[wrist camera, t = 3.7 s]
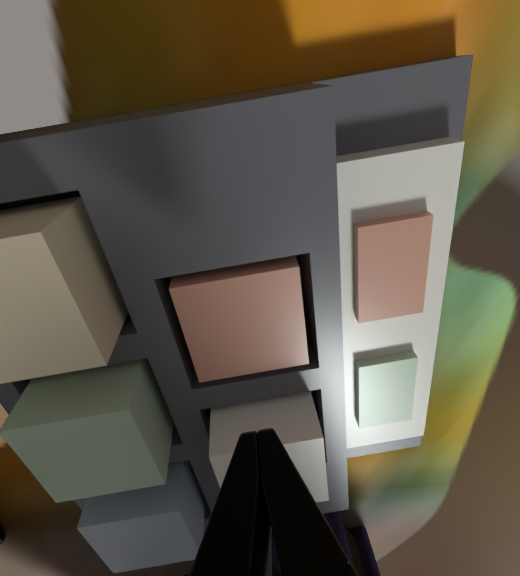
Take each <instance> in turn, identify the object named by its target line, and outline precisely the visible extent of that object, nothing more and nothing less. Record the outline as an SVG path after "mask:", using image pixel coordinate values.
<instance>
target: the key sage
mask: <svg viewBox="0 0 520 576" xmlns="http://www.w3.org/2000/svg"><path fill="white" fill-rule="evenodd" d="M173 428H174V421H173V419H172V416H171V414H170V411H169V409H168V407H167V404H166V402H165V399H164V397H163V394H162V392H161V390H160V387H159V385H158V382H157V380H156V377H155V375H154V373H153V370H152V368H151V365H150V363H149V360H148V358H145V359H139V360H134V361H128V362H122V363H116V364H110V365H107V366H101V367H96V368H90V369H84V370H78V371H72V372H67V373H61V374H55V375H49V376H43V377H38V378H32V379H31V381H30V382H29V384H28V385H27V387H26V389H25V390H24V392H23V394H22V395H21V397H20V398H19V400H18V402H17V403H16V405H15V406H14V408H13V410H12V411H11V413H10V414H9V416H8V418H7V419H6V421H5V423H4V424H3V426H2V428H1V429H0V435H1V436H2V437H3V438H4V439H5V441H6V442H7V443H8V444H9V446H10V447H11V448H12V449H13V451H14V452H15V453H16V454H17V455H18V457H19V458H20V459H21V460H22V462H23V463H24V464H25V465H26V467H27V468H28V469H29V470H30V471H31V473H32V474H33V475H34V476H35V478H36V479H37V480H38V481H39V483H40V484H41V485H42V486H43V487H44V489H45V490H46V491H47V492H48V494H49V495H50V496H51V497H52V499H53V500H54V501H55V502H56V503H59V502H65V501H71V500H76V499H82V498H88V497H94V496H100V495H105V494H111V493H117V492H123V491H129V490H135V489H140V488H146V487H152V486H158V485H164V484H166V478H167V471H168V464H169V457H170V449H171V442H172V435H173Z"/></svg>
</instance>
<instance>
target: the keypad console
mask: <svg viewBox="0 0 520 576" xmlns="http://www.w3.org/2000/svg"><path fill="white" fill-rule="evenodd" d="M472 61H473V55H462V56H453V57H447V58H442V59H436V60H430V61H424V62H418V63H413V64H407V65H401V66H395V67H389V68H384V69H378V70H372V71H366V72H360V73H355V74H349V75H343V76H337V77H331V78H326V79H320V80H314V81H308V82H302V83H297V84H291V85H285V86H279V87H273V88H267V89H262V90H256V91H250V92H244V93H238V94H233V95H227V96H221V97H215V98H209V99H204V100H198V101H192V102H186V103H180V104H175V105H169V106H163V107H157V108H151V109H146V110H140V111H134V112H128V113H122V114H117V115H111V116H105V117H99V118H93V119H88V120H82V121H76V122H70V123H64V124H59V125H53V126H47V127H42V128H35V129H29V130H24V131H18V132H12V133H7V134H0V210H3V209H9V208H14V207H20V206H26V205H32V204H38V203H43V202H49V201H55V200H61V199H67V198H72V197H78V196H81V197H82V200H83V202H84V205H85V207H86V210H87V212H88V214H89V217H90V219H91V222H92V224H93V227H94V229H95V231H96V234H97V236H98V239H99V241H100V244H101V246H102V249H103V251H104V253H105V256H106V258H107V261H108V263H109V266H110V268H111V270H112V273H113V275H114V278H115V280H116V283H117V285H118V287H119V290H120V292H121V295H122V297H123V300H124V302H125V304H126V307H127V309H128V313H127V316H126V318H125V321H124V323H123V326H122V329H121V331H120V334H119V336H118V339H117V341H116V344H115V346H114V349H113V351H112V354H111V356H110V359H109V361H108V364H107V365H110V364H116V363H122V362H128V361H134V360H139V359H145V358H148V360H149V363H150V365H151V368H152V370H153V373H154V375H155V377H156V380H157V382H158V385H159V387H160V390H161V392H162V394H163V397H164V399H165V402H166V404H167V407H168V409H169V411H170V414H171V416H172V419H173V421H174V428H173V435H172V442H171V449H170V457H169V464H171V463H177V462H182V461H188V460H190V463H191V465H192V467H193V470H194V472H195V475H196V477H197V480H198V482H199V484H200V487H201V489H202V492H203V494H204V497H205V510H204V532H205V530H206V527H207V524H208V521H209V519H210V516H211V513H212V510H213V508H214V505H215V502H216V499H217V497H218V494H219V491H220V487H219V484H218V481H217V478H216V476H215V473H214V470H213V467H212V465H211V462H210V459H209V440H210V413H211V408H213V407H219V406H225V405H230V404H236V403H242V402H248V401H254V400H259V399H265V398H271V397H277V396H283V395H288V394H294V393H300V392H306V391H311V394H312V398H313V401H314V405H315V409H316V412H317V416H318V420H319V423H320V427H321V431H322V434H323V438H324V450H325V461H326V473H327V484H328V496H329V501H323V502H317V505H318V507H319V508H320V510H321V512H322V514H324V513H330V512H336V511H342V510H348V509H349V500H348V471H347V458H351V457H357V456H363V455H369V454H374V453H380V452H386V451H392V450H398V449H403V448H409V447H415V446H420V445H421V438H422V436H423V435H424V430H425V422H426V415H427V408H428V401H429V394H430V386H431V379H432V372H433V365H434V358H435V350H436V343H437V336H438V329H439V322H440V315H441V307H442V300H443V293H444V286H445V279H446V271H447V264H448V257H449V250H450V243H451V236H452V228H453V221H454V214H455V207H456V200H457V192H458V185H459V178H460V171H461V164H462V157H463V149H464V142H465V141H462V135H463V127H464V120H465V112H466V105H467V98H468V90H469V83H470V75H471V68H472ZM293 255H295V257H296V260H297V262H298V265H299V270H300V279H301V289H302V299H303V309H304V319H305V328H306V338H307V348H308V358H309V364H305V365H299V366H294V367H288V368H282V369H276V370H270V371H264V372H259V373H253V374H247V375H241V376H235V377H230V378H224V379H218V380H212V381H206V382H201V383H199V380H198V377H197V374H196V371H195V368H194V364H193V361H192V358H191V355H190V352H189V349H188V346H187V343H186V340H185V337H184V334H183V331H182V328H181V325H180V322H179V319H178V316H177V313H176V309H175V306H174V303H173V300H172V297H171V294H170V291H169V286H170V282H171V278H172V276H177V275H183V274H189V273H195V272H200V271H206V270H212V269H218V268H224V267H229V266H235V265H241V264H247V263H253V262H258V261H264V260H270V259H276V258H282V257H287V256H293ZM30 381H31V379H26V380H20V381H14V382H8V383H3V384H0V403H1V405H2V406H3V407H4V409H5V410H6V411H7V413H8V414H10V413H11V411H12V410H13V408H14V406H15V405H16V403H17V402H18V400H19V398H20V397H21V395H22V394H23V392H24V390H25V389H26V387H27V385H28V384H29V382H30ZM74 501H75V502H76V504H77V505H78V506H79V507H80V509H81V510H83V507H84V504H85V501H86V498H82V499H76V500H74Z"/></svg>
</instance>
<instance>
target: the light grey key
mask: <svg viewBox="0 0 520 576" xmlns="http://www.w3.org/2000/svg"><path fill="white" fill-rule="evenodd" d="M267 428H273V429H274V430H275V432H276V433H277V435H278V437H279V439H280V440H281V442H282V444H283V446H284V447H285V449H286V451H287V452H288V454H289V456H290V458H291V459H292V461H293V463H294V465H295V466H296V468H297V470H298V472H299V473H300V475H301V477H302V479H303V480H304V482H305V484H306V486H307V487H308V489H309V491H310V493H311V494H312V496H313V498H314V500H315V501H316V503H317V502H323V501H329V496H328V484H327V473H326V461H325V450H324V438H323V434H322V431H321V427H320V423H319V420H318V416H317V412H316V409H315V405H314V401H313V398H312V394H311V391H306V392H300V393H294V394H288V395H283V396H277V397H271V398H265V399H259V400H254V401H248V402H242V403H236V404H230V405H225V406H219V407H213V408H211V413H210V440H209V459H210V462H211V465H212V467H213V470H214V473H215V476H216V478H217V481H218V484H219V487H220V488H221V486H222V483H223V480H224V477H225V475H226V472H227V469H228V466H229V463H230V461H231V458H232V455H233V452H234V450H235V447H236V444H237V441H238V439H239V436H240V434H241V433H243V432H249V431H256V432H258V431H259V430H261V429H267Z"/></svg>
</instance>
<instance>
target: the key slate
mask: <svg viewBox="0 0 520 576" xmlns="http://www.w3.org/2000/svg"><path fill="white" fill-rule="evenodd" d="M204 510H205V497H204V494H203V492H202V489H201V487H200V484H199V482H198V480H197V477H196V475H195V472H194V470H193V467H192V465H191V463H190V460H188V461H182V462H177V463H171V464H168V471H167V478H166V484H164V485H158V486H152V487H146V488H140V489H135V490H129V491H123V492H117V493H111V494H105V495H100V496H94V497H88V498H86V501H85V504H84V507H83V510H82V513H81V516H80V519H79V523H78V526H77V529H78V531H79V532H80V533H81V534H82V535H83V537H84V538H85V539H86V540H87V542H88V543H89V544H90V545H91V547H92V548H93V549H94V550H95V551H96V553H97V554H98V555H99V556H100V558H101V559H102V560H103V561H104V563H105V564H106V565H107V566H108V567H109V569H110V570H111V571H112V572H113V574H114V573H120V572H125V571H131V570H137V569H143V568H149V567H154V566H160V565H166V564H172V563H178V562H184V561H189V560H195V557H196V555H197V552H198V549H199V546H200V543H201V541H202V538H203V534H204Z"/></svg>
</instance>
